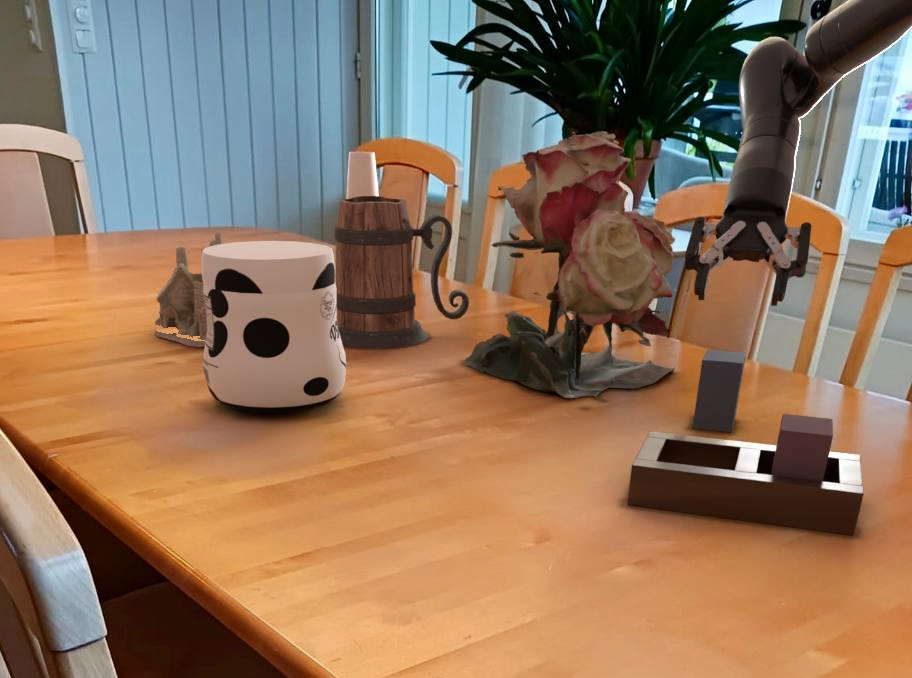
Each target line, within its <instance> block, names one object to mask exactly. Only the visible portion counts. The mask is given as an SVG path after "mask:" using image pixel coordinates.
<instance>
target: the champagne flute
mask: <svg viewBox="0 0 912 678" xmlns="http://www.w3.org/2000/svg"><path fill="white" fill-rule="evenodd" d="M346 179H347V180H346V197H345V199H349V198H353V197H357V196H380V195H379V193H380V192H379V185H378V184H379V182H378V174H377V163H376V153H375V152H374V151H349V152H348V162H347V178H346Z"/></svg>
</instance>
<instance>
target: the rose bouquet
mask: <svg viewBox="0 0 912 678" xmlns="http://www.w3.org/2000/svg"><path fill="white" fill-rule="evenodd" d="M571 133H573V135H572V136H569V137H568V138H564V139H561V140H558V142H557V144H553V145H550V146H547V147H544V148H539V149H537V150H536V151H527V152H526V153H524V154H521V157H522V160H523V162H524V165H525V171H527V172H529V175H530V177H529V178H528V179H527V180H526V181H525V182H526V183H525V184H524V185H523V186H522V187H520V189H516V188H515V187H514V186H511V187H505V186H501V185H500V186H499V185H497V189H498V191H502V192H503V195H504V196H505V199H506V200H507V202H508V204H509V206H510V208H512V209H514V214H515V216H516V218H517V219H518V221H519V222H520V224H521V226H523V228H524V229H525V230H526V232H527V233H528V234H529V235H530V236H531V237H532V239H515V240H514V239H513V240H511V239H510V240H500V241H496V242H493V243H491V246H492V247H493V248H501V247H506V248H514V249H520V250H527V251H537V250H541V251H540V254H549V253H550V254H553V253H556V254H558V258H557V261H558V271H557V280H556V283H555V284H554V285H553V290H552V291H550V292H548V293H547V294H546V297H545V298H546V300H548V301H550V303H549V314H548V322H547V323H548V327H547V331H546V330H545V329H544V328H542V327H541V326H539V325H538V324H536V323H535V321H534V319H533V318H532V317H531V316H530V317H529V316H525V315H523V314H520V313H519V312H518V311H516V310H511V311H510V312H508V313H504V317H505V318H506V321H507V324H506V330H507V331H508V333H509V336H508V335H505V334H502V333H501V332H499V333H497V334H494V335H492V337H490V338H488V339H486V340H484V341H479V342H478V343H476V344H475V345H474V348H473V349H472V352H471V354H470V355H468V356H467V357H466V358H465V365H466V366H468V367H471V368H472V369H475V370H476V371H479V372H482V373H484V374H488V375H491V376H494V377H497V378H498V379H499V378H500V379H501V380H504V381H506V380H510V381H517V382H518V383H519V384H522V385H523V386H525V387H528V388H530V389H533V390H537V391H539V392H544V393H552V394H553V393H554V394H557V395H560V396H562V397H563V398H565V399H578V398H581V397H591V396H593V397H594V398H596V399H599V400H604V399H602V398H600V397H598V396H599V395H600V394H601V393H602V392H603V391H605V390H607V389H608V388H613V389H614V388H616V389H635V390H636V389H639V388H643V387H645V386H649V385H652V384H654V383H657V382H658V381H659V380H660V379H661V378H663V377H664V376H666V375H668V373H671V372H674V371H675V369H676V367H675V366H663V365H661V364H659V363H655V362H654V361H652V360H648V361H646V362H638V361H633V360H627V359H621V358H618V357H617V356H616V355H615V354H613V344H612V343H613V342H612V341H613V335H612V333H613V325H614V324H617V326H618V328H619V330H620V332H621V333H623V332H626V331H631V332H633V333H634V334H636V335H638V336H639V337H640V338H641V339H639V340H637V342H638V343H639V344H640V345H643V346H645V347H651V342H650V339H649V338H647V337H646V336H645V335H644V333H645V334H647V335H651V336H657V335H660V334H662V333H663V332H664V331H665V330H666V324H667V322H666V321H665V320H664V319H662V318H660V317H659V316H657V315H656V314H655V313H657V314H659V315H660V314H661V311H659V310H654V309H652V308H651V307H650V305H651V304H652V303H653V301H654V300H655V299H656V300H658V299H663V298H670V299H671V298H673V291H672V288H671V286H670V283H669V280H668V279H667V278H666V277H664V276H665V275H667V274H669V273H670V272H671V271H672V269H673V268H674V267H673V266H674V258H675V257H674V250H673V246H672V245H673V244H674V243H675V242H676V238H675V237H674V236H673V234H672V233H671V232H670V231H669V229H668V227H667V225H666V224H665V222H664V221H661V220H659V219H656V218H654V217H651V216H648V215H643V214H642V213H641V214H640V212H639V211H637V210H628V211H627V210H626V208H625V202H626V200H627V197H628V196H629V192H628V191H627V190H626V189H625V188H624V187H622V186H621V185H620V184H619V183H620V181H621V177H622V176H623V175H622V174H623V173H624V171H625V170H626V169H627V168H628V167H629V165H630V163H631V162H632V159H631V158H628V157H624V156H621V155H620V154H622V153H624V152H625V151H624V148H623V147H621V146H619V144H620V143H619V141H618V140H615V139H616V134H615V133H608V132H607V131H596V132H592V133H585V134H576V132H575V131H572V132H571ZM536 254H538V251H537V252H535V253H534V255H536ZM509 256H510V258H515V259H523V258H525V254H524V253H523V252H518V251H517V252H511V253H510V254H509ZM449 260H450V262H452V258H450V259H449ZM532 294H533V295H537V296H540V297H542V295H541V294H540V293H538V292H533V293H532ZM569 312H572V314H573V319H570V317H569V316H568V313H569ZM563 316H564V319H565V322H563V328H564V331H561V330H559V327H558V322H559V319H560V318H561V317H563ZM542 325H543V322H542ZM598 325H599V326H600V325H602V328H603V332H604V334H605V335H606V338H607V341H608V345H607V347H606V348H605V349H604V350H602V351H598V352H583V350H584V348H585V345H586V344H587V343H588V342H589V339H590V337H591V335H592V333H593V331H594V329H595V327H596V326H598Z"/></svg>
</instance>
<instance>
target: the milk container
mask: <svg viewBox="0 0 912 678" xmlns="http://www.w3.org/2000/svg"><path fill="white" fill-rule="evenodd" d="M209 246H210V245H209ZM209 246H207V247H204V248H203V249H204V250H203V251H202V256H200V257H201V263H200V264H201V265H200V266H201V269H200V270H201V272H200V273H201V274H202V280H203V284H204V286H203V294H204V301H205V309H206V317H207V336H206V342H205V346H204V347H203V348H204V349H203V358H202V366H203V374H204V378H205V382H206V385H207V387H208V391H209V392H210V394H211V396H212V397H213V398H214V400H216V401H217V402H218V403H219V404H221V405H223V406H225V407H229V408H231V409H234V410H237V411H238V410H239V411H245V412H251V413H259V414H260V413H261V414H263V413H264V414H265V413H266V414H281V413H282V414H283V413H295V412H300V411H308V410H311V409H316V408H319V407H322V406H325V405H328V404H330V403H331V402H332V401H334V400H335V399H337V398H338V397H339V396H340V395H342V392H343V389H344V388H345V384H346V383H345V382H346V375H347V356H346V351H345V348H344V347H345V346H343V344H342V341H341V337H340V334H339V330H338V324H337V294H336V262H335V256H334V251H333V248H332V247H331V246H329V245H326V244H320V243H315V242H306V241H295V240H293V241H291V240H250V241H236V242H235V241H234V242H227V243H223V244H219V245H214V246H210V247H209Z"/></svg>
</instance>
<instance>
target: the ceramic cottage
mask: <svg viewBox="0 0 912 678" xmlns="http://www.w3.org/2000/svg"><path fill="white" fill-rule="evenodd" d="M219 244H224V243H223V238H222V234H221V233H220V232H215V234H214V239H213V240H210V242H209V246H208V247H210V246H214V245H219ZM204 249H205V248H201V249H200V254H201V256H202V251H203V250H204ZM201 256H200V257H201ZM175 260H176V267H175V268H174V270H173V271H172V272H173V273H172V274H171V277H170V278H169V280H168V281H167V282H166V284H165V285H164V287H162V288H161V290H160V291H159V292H158V293H157V298H156V299H155V300H156V301H157V302H158V303H159V311H158V314H159V317H158V318H157V319H156V320H155V321H154V325H155V324H156V325H159V326H160V325H161V326H162V327H163V328H168V327H176V328H177V329H178V330H179V332H178V334H181V335H189V337H190V336H191V337H192V338H193V336H200V338H198V339H201V340H205V341H206V336H207V317H206V309H205V301H204V294H203V286H204V284H203V280H202V273H193V272H192V271H190V269H189V260H188V253H187V248H186V247H185V246H177V247H175ZM154 335H155V336H156V337H157V338H161V339H166V340H168V341H172V342H177V343H180V344H181V345H185V346H189V347H194V348H195V347H196V348H205V341H194V340H191V339H187V338H181V337H177V336H176V335H177V334H176V333H173V334H170V333H169V334H166V333H162V332H158V331H156V330H155V329H154Z"/></svg>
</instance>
